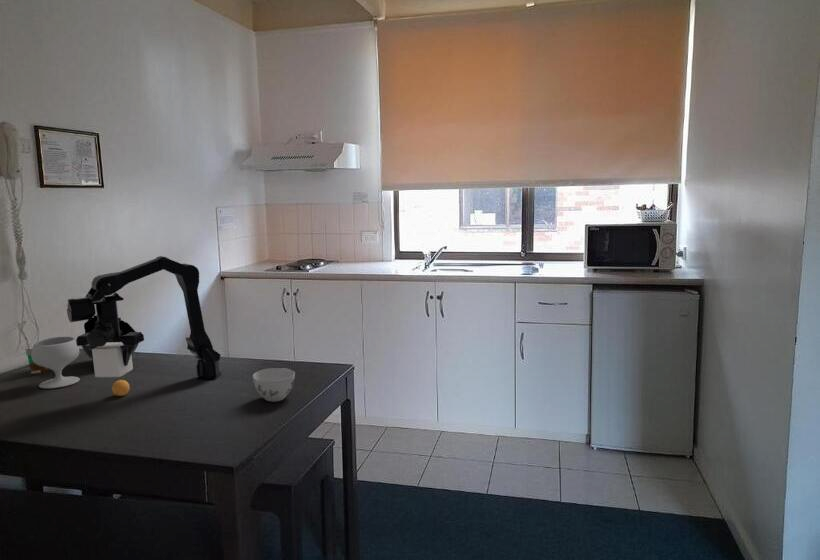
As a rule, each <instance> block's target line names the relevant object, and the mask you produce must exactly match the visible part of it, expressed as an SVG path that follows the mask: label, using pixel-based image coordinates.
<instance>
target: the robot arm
mask: <svg viewBox="0 0 820 560" xmlns="http://www.w3.org/2000/svg"><path fill="white" fill-rule="evenodd" d="M160 271H167V272H168V273H171V274H173V275H174V277H175V279H176V281H177V283H178V285H179V287H180V288H181V290H182V293H183V297H184V303H185V304H184V305H185V308H186V309H185V310H186V313H187V319H188V324H189V329H190V334H189V337H185V341H186V343H187V348H186V349H187V350H189V352H190V353H191V354H192V355H193V356H195V359H197V360H196V361H197V362H196V363H197V364H196V367H195V368H196V376H197V377H196V380H198V381H199V380H200V381H201V380H216V379H217V378H219V377H220V376H221V375H222V374H223V373H222V372H220V360H221V353H219V352H218V351H216V350H215V349H214V347H213V344H212V342H211V339H210V337H209V335H208V334H207V331H206V329H205V324H204V319H203V314H202V308H201V303H200V297H199V290H198V289H199V285H200V271H199V268H198V267H197V266H195V265H192V264H188V263H181V262H177V261H175V260H172V259H170V258H169V257H167V256H163V255H160V256H159V255H158V256H157V257H156V258H153V259H151V260H148V261H146V262H143V263H139V264H137V265H135V266H132V267H130V268H127V269H125V270H122V271H118V272H109V273H103V274H100V275H97V276H95V277H94V278H93V279H92V281H91V287H90V289H89V290H88V292H87V293H86V295H85V297H82V298H81V297H80V298H68V299H67V307H66V308H67V309H66V315H67V318H68V319H67V320H68V321H69V322H70V323H76V322H81V321H88V320H89V319H92V317H94V316H95V315H97V320H98V321H96V322H95V329H93V330H92V331H91V332H90V333H85V332H84V333H83V334H80V335H77V337H76V339H75V340H76V344H77V346H79V347H82V346H83V348H86V349H88V350H89V351H91V353H92V349H94V348H96V347H98V346H104V345H105V344H106V342H122V343H123V344H124V345H122V346H120V348H121V349H122V351H123V362H124V366H127V365H128V362H129V359H130V356H131V353H132V351H133V349H134V347H135V345H136V344H138V343H139V344H140V343H141V342H144V341H145V337H144V336H145V335H144V334H143V333H142V332H141V331H136V332H130V333H128V334H126V335H121V334H123V333H122V330H120V328H119V321H121V320H122V318H121V317H119V312H118V303H117V302H119V301H120V302H121V301H124V300H125V299H124V297H122V296H120V295H119V293H117V292H118V291H120V290H121V289H123V288H124V287H125V286H127V285H128V284H130V283H133V282H134V281H135V282H136V281H138V280H141V279H143V278H145V277H148V276H150V275H153V274H155V273H158V272H160ZM115 338H116V339H115ZM139 344H138V345H139ZM83 348H82V349H83Z"/></svg>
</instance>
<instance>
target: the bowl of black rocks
mask: <svg viewBox="0 0 820 560" xmlns="http://www.w3.org/2000/svg"><path fill="white" fill-rule="evenodd" d="M96 321H98V320H97V314H95V315H94V317H92V319H89V320H86V321H85V322H84V324H83V328H84V334H85V333H90V332H91V331H92V330H93V329H95V322H96ZM119 328H120V330H122V333H123V334H121V335H126V334H128V333H130V332H137V331H136V329H134V328H133V327H132V326H131V325H130V324H129V323H128V322H127V321H124V320H122V319H121V321H119ZM115 339H116V338H115ZM106 343H108V342H106ZM139 344H140V343H138V344H136V345H135V347H134V349H133V351H132V353H131V355H133V353H134V352H135V351H136V350H137V347H138V346H139ZM81 349H82V350H83V352H84V353H85V354H86V355H87V356H88V358H90V359H92V360H93V354H92V353H91V351H89V350H88V349H86V348H83V346H81Z"/></svg>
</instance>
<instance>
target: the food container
mask: <svg viewBox="0 0 820 560" xmlns="http://www.w3.org/2000/svg"><path fill="white" fill-rule="evenodd" d="M31 353H32V348H26V350H25V355H26V356H27V359H28V364H29V370H30V374H31V376H40V375H46V374H49V373H52V371H53V370H51V369H49V368H46V367H43V366H39V365H37V364H35V363H34V362H33V360H32V357H31ZM53 372H54V371H53Z"/></svg>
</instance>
